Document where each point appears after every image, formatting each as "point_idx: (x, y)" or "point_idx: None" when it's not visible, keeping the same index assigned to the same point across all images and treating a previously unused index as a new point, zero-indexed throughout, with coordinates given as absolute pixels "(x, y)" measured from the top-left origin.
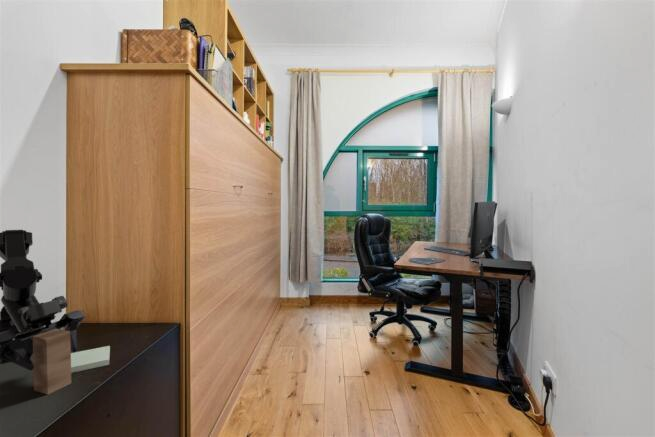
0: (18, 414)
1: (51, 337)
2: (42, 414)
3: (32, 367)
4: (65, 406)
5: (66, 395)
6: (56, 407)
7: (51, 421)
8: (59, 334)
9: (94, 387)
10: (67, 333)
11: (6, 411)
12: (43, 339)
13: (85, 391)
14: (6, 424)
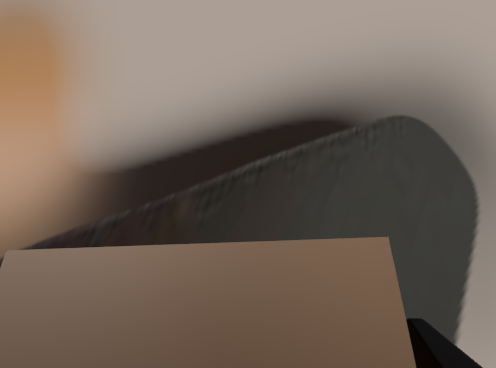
0: (429, 256)
1: (290, 260)
2: (379, 180)
3: (418, 321)
4: (320, 161)
5: (281, 224)
6: (337, 180)
7: (379, 123)
8: (146, 276)
9: (213, 187)
10: (61, 251)
11: (455, 330)
12: (406, 343)
13: (240, 189)
14: (474, 227)
